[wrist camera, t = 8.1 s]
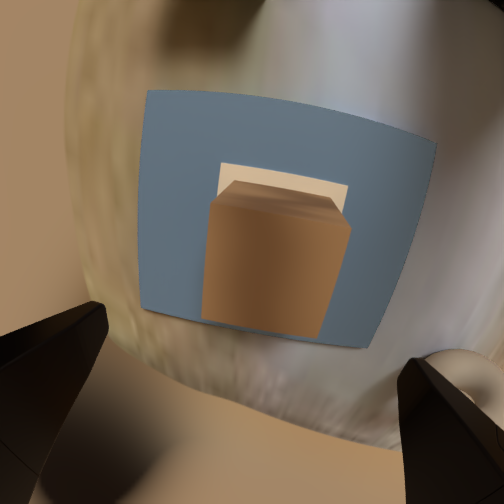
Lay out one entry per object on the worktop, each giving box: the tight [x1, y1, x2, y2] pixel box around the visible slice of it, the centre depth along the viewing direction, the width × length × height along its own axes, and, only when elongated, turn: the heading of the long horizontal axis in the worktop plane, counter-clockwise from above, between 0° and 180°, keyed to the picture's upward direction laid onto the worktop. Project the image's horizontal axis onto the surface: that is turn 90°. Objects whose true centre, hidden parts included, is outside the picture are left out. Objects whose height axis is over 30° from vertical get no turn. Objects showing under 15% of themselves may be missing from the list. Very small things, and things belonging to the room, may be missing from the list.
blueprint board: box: [138, 90, 437, 348], centre depth 16 cm, size 16×14×1 cm
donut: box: [424, 349, 504, 430], centre depth 14 cm, size 10×4×10 cm, turn 92°
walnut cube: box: [201, 180, 352, 339], centre depth 13 cm, size 5×5×5 cm
